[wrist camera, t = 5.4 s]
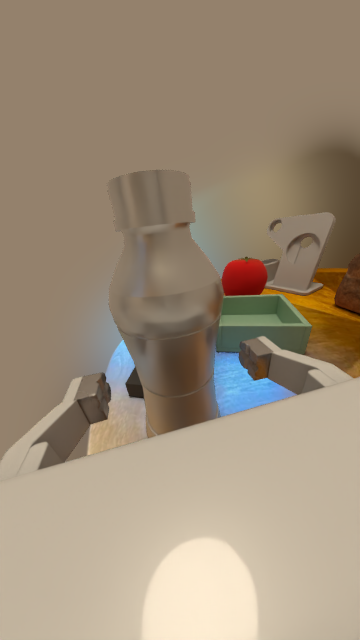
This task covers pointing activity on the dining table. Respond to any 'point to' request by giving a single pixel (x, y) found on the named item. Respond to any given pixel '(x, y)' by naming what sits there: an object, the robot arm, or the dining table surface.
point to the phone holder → (298, 252)
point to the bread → (350, 287)
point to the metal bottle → (165, 299)
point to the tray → (262, 323)
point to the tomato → (244, 277)
